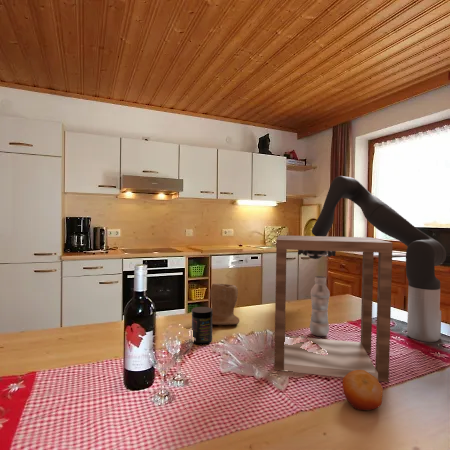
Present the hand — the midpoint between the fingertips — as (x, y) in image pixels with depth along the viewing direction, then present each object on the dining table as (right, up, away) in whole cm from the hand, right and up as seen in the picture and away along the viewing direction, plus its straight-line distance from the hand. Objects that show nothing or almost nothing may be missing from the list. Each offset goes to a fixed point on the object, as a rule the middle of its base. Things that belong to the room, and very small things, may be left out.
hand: (317, 253), depth 121 cm
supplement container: (-42, -27, -17) cm, 53 cm away
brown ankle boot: (-37, -27, +1) cm, 46 cm away
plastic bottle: (-3, -27, -10) cm, 29 cm away
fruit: (-5, -29, -51) cm, 59 cm away
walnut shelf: (-6, -28, -29) cm, 40 cm away
